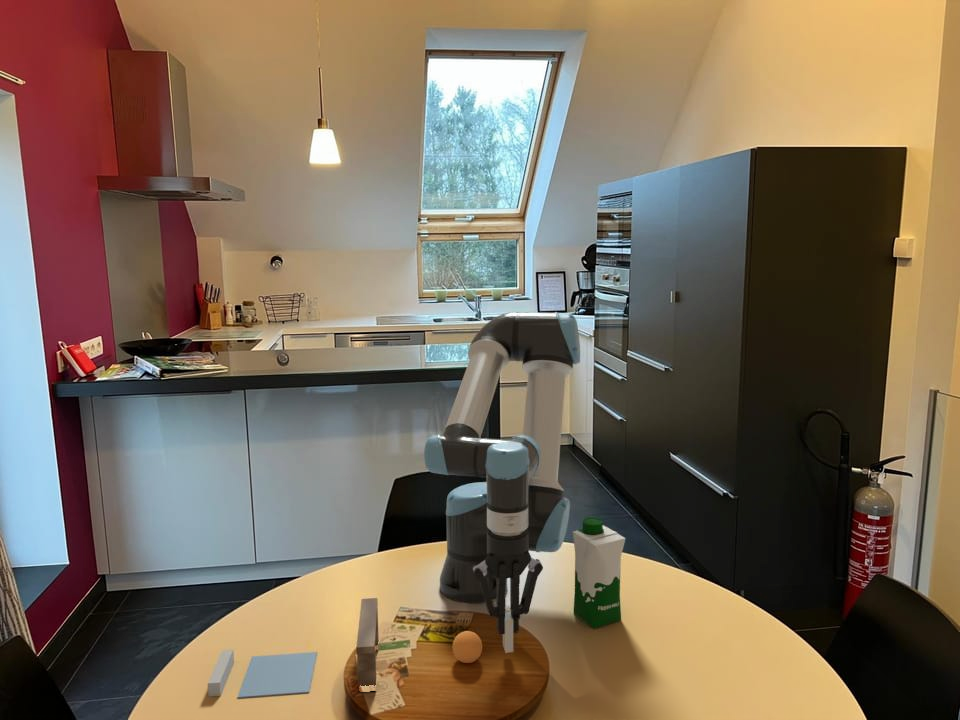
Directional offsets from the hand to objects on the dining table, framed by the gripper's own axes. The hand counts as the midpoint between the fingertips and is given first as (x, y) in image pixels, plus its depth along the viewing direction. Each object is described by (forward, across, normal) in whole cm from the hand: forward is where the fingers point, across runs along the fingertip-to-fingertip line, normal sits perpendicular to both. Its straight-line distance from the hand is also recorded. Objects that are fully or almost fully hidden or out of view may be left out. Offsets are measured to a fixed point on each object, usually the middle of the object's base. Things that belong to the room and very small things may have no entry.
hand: (507, 648), depth 131 cm
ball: (-1, -8, 0) cm, 8 cm away
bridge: (+2, -26, +1) cm, 26 cm away
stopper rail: (+2, -52, +2) cm, 52 cm away
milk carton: (+2, +21, +11) cm, 24 cm away
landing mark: (+2, -42, +1) cm, 42 cm away
